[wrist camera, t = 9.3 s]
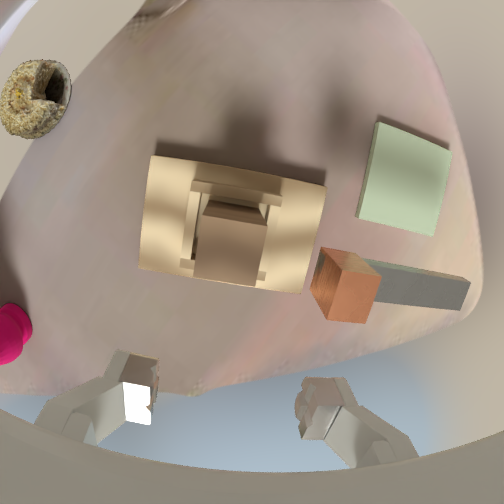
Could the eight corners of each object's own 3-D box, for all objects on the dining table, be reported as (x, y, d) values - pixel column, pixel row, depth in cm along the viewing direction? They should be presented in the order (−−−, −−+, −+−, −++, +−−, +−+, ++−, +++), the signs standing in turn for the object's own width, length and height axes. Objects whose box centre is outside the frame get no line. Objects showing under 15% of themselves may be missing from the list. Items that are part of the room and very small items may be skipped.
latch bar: (321, 246, 24) (342, 270, 19) (463, 274, 26) (494, 294, 21) (309, 289, 25) (326, 320, 20) (450, 306, 27) (478, 330, 22)
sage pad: (375, 122, 31) (379, 121, 30) (447, 151, 32) (452, 152, 31) (355, 216, 34) (358, 218, 33) (428, 234, 35) (432, 236, 34)
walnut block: (209, 199, 31) (201, 215, 23) (258, 208, 31) (267, 226, 24) (201, 247, 32) (192, 276, 24) (249, 255, 33) (255, 286, 25)
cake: (25, 155, 29) (-1, 158, 24) (3, 94, 26) (-23, 91, 21) (84, 106, 28) (61, 100, 23) (58, 45, 25) (36, 33, 20)
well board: (154, 155, 30) (146, 155, 27) (323, 185, 32) (333, 189, 29) (141, 263, 34) (133, 274, 30) (298, 288, 36) (304, 302, 33)
